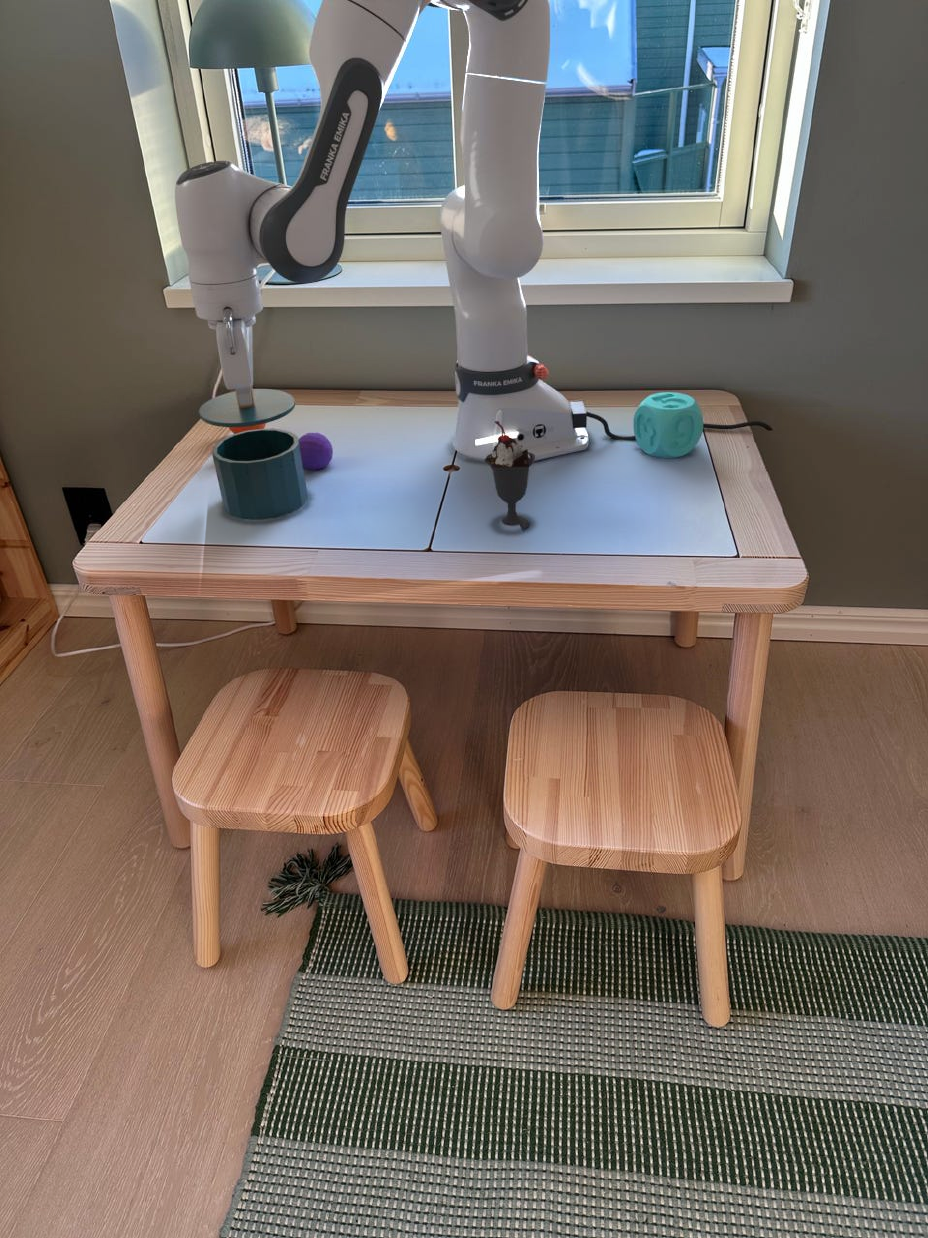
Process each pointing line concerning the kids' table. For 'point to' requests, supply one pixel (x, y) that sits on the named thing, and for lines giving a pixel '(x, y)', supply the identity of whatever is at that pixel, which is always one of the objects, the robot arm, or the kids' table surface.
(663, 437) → the decorative dice
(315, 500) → the kids' table surface
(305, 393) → the kids' table surface
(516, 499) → the sundae
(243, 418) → the lid
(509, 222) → the robot arm
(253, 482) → the pot
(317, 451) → the kendama
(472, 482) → the kids' table surface
